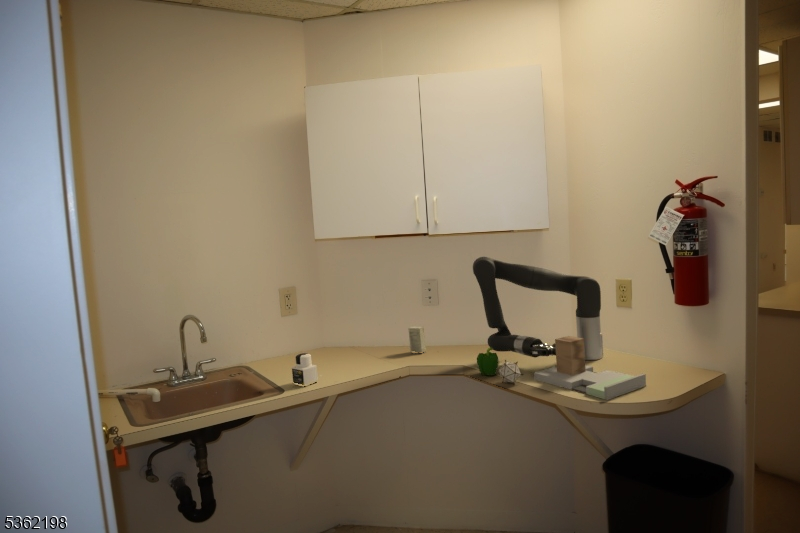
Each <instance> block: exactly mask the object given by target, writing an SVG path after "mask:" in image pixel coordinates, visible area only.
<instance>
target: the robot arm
mask: <svg viewBox="0 0 800 533" xmlns="http://www.w3.org/2000/svg"><path fill="white" fill-rule="evenodd" d="M472 273H473V275H474V276H475V278H476V281H477V283H478V286H479V288H480V293H481V295H482V296H481V297H482V302H483V308H484V314H485V317H486V322H487V325H488V327H489V328H490V329H497V332H495V333H493V334H490V335H489V337H488V338H487V345H488V348H493V349H492V351H493V352H502V353H503V352H511V353H512V352H513V353H517V354H520V355H523V356H526V357H530V358H535V359H536V358H539V357H549V356H552V357H553V356H555V357H556V346H555V342H554V343H552V344H548V343H546V342H543V341H542V339H540V338H538V337H532V336H528V335H518V334H512V333H511V330H510V329H509V328H508V325H507V323H506V321H505V318H504V314H503V309H502V305H501V302H500V298H499V295H498V291H497V285H496V280H498V279H499V280H504V281H507V282H509V283H512V284H514V285H516V286H520V287H522V288H525V289H531V290H536V291H543V292H561V293H566V294H569V295H573V296H575V297H576V305H577V306H576V310H575V320H576V322H575V323H576V325H575V326H576V337H578V338H584V349H585V361H586V360H587V361H588V360H589V361H595V360H600V359H602V358H603V357H604V345H603V344H604V343H603V333H601V310H602V302H601V301H602V298H601V286H600V284H599V282H598V281H597V280H596V279H595V278H593V277H589V276H585V275H584V276H582V275H573V274H571V275H570V274H565V273H564V274H562V273H559V272H556V271H553V270H551V269H546V268H543V267H538V266H537V267H536V266H532V265H526V264H518V263H509V262H504V261H501V260H497V259H494V258H491V257H488V256H480V257H478V258H476V259H475V260H474V262H473V263H472Z"/></svg>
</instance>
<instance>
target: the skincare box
mask: <svg viewBox="0 0 800 533" xmlns="http://www.w3.org/2000/svg"><path fill="white" fill-rule="evenodd" d="M407 331H408V337H409V346H410V347H409V348H410V352H411V351H415V352H423V351H425V350H426V351H427V349H426V339H425V336H426V335H425V327H424V326H410V327H408V330H407Z"/></svg>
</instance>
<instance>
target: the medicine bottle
mask: <svg viewBox="0 0 800 533" xmlns="http://www.w3.org/2000/svg"><path fill="white" fill-rule="evenodd" d="M291 373H292V383H293V382H294V383H298V384H302V385H305V384H308V383H310V382H313V381H316V380H318V381H319V378H318V366H317V365H316V364H313V363H312V355H311V354H310V353H308V352H304V353H299V354H297V355H296V356H295V366H292V368H291Z"/></svg>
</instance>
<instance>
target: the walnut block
mask: <svg viewBox="0 0 800 533" xmlns="http://www.w3.org/2000/svg"><path fill="white" fill-rule="evenodd" d="M554 343H555V346H556V356H555V360H556V366H557V372H560V373H564V374H568V375H572V376H573V375H576V374H579V373H582V372H586V368H585V365H586V360H585V349H584V338H578V337H577V336H571V335H567V336H563V337H562V336H561V337H559V338H555V339H554Z"/></svg>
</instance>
